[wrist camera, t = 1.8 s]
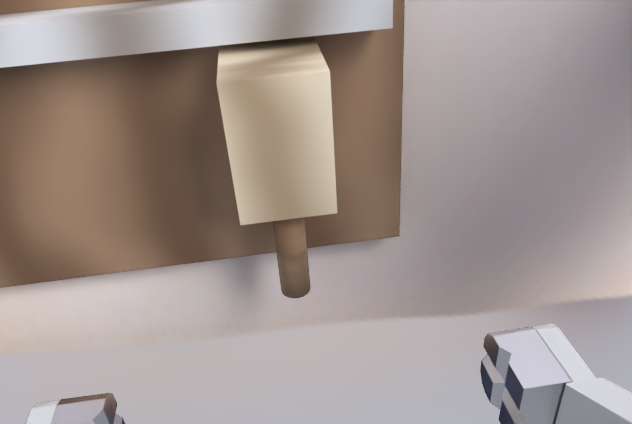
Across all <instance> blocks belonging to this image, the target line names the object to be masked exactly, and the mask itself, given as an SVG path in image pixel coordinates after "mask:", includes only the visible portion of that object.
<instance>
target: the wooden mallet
mask: <svg viewBox="0 0 632 424" xmlns="http://www.w3.org/2000/svg"><path fill="white" fill-rule="evenodd" d="M216 84H217V90H218V96H219V102H220V108H221V113H222V119H223V125H224V131H225V137H226V143H227V149H228V155H229V161H230V167H231V173H232V179H233V184H234V190H235V196H236V202H237V208H238V214H239V220H240V225H247V224H255V223H263V222H271V221H273V229H274V236H275V244H276V252H277V259H278V267H279V275H280V282H281V290H282V293H283V294H284V295H285V296H287V297H290V298H300V297H303V296H305V295H306V294H307V293H308V292H309V291H310V277H309V266H308V256H307V245H306V234H305V223H304V217H311V216H319V215H327V214H335V213H337V196H336V177H335V157H334V138H333V119H332V99H331V80H330V70H329V68H328V66H327V64H326V61H325V59H324V57H323V55H322V53H321V51H320V48H319V46H318V44H317V42H316V40H315V38H314V36H310V37H300V38H290V39H280V40H270V41H260V42H251V43H241V44H231V45H221V46H219V53H218V67H217V82H216Z"/></svg>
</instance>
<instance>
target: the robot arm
mask: <svg viewBox="0 0 632 424" xmlns="http://www.w3.org/2000/svg"><path fill="white" fill-rule="evenodd" d="M484 348H485V350H486V352H487V355H486V356H485V357H484V358H483V359H482V361H481V378H482V384H483V387H484V390H485V393H486V395H487V397H488V399H489V401H490V403H492V404H493V405H495V406H496V407H498V408H499V409H500V415H499V421H500V423H501V424H632V393H630V392H629V391H627V390H625V389H623V388H621V387H619V386H618V385H616V384H614V383H612V382H610V381H608V380H607V379H605V378H596V377H595V376H594V375H593V373H592V372H591V370H590V369H589V368H588V366H587V365H586V364H585V363H584V361H583V360H582V358H581V357H580V356H579V354H578V353H577V352H576V350H575V349H574V348H573V346H572V345H571V344H570V342H569V341H568V340H567V338H566V337H565V336H564V334H563V333H562V332H561V330H560V329H559V328H558V326H556V325H555V324H553V323H551V324H544V325H538V326H532V327H524V328H518V329H513V330H506V331H500V332H495V333H489V334H487V336H486V337H485V340H484ZM116 407H117V402H116V400H115V398H114V396H113V394H112V393H106V394H99V395H92V396H83V397H76V398H68V399H61V400H55V401H48V402H41V403H36V404H35V405H34V406H33V408H32V409H31V410H30V412H29V415H28V418H27V421H26V424H125V423H124V420H123V418H122V417H120V416H119V415H117V414H115V412H116Z"/></svg>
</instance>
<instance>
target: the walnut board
mask: <svg viewBox="0 0 632 424" xmlns="http://www.w3.org/2000/svg"><path fill="white" fill-rule="evenodd" d="M310 36H314V38H315V40H316V42H317V44H318V46H319V48H320V51H321V53H322V55H323V57H324V59H325V61H326V64H327V66H328V68H329V70H330V80H331V99H332V119H333V138H334V157H335V177H336V196H337V213H335V214H327V215H319V216H311V217H304V223H305V234H306V245H307V248H311V247H319V246H327V245H334V244H342V243H350V242H358V241H365V240H373V239H381V238H389V237H396V236H399V226H400V180H401V135H402V90H403V45H404V0H0V288H1V287H9V286H17V285H24V284H32V283H40V282H48V281H55V280H63V279H71V278H79V277H86V276H94V275H102V274H110V273H117V272H125V271H133V270H141V269H148V268H156V267H164V266H172V265H179V264H187V263H195V262H203V261H210V260H218V259H226V258H234V257H241V256H249V255H257V254H265V253H272V252H276V244H275V236H274V229H273V221H271V222H263V223H255V224H247V225H240V220H239V214H238V208H237V202H236V196H235V190H234V184H233V179H232V173H231V167H230V161H229V155H228V149H227V143H226V137H225V131H224V125H223V119H222V113H221V108H220V102H219V96H218V90H217V84H216V82H217V67H218V53H219V46H221V45H231V44H241V43H251V42H260V41H270V40H280V39H290V38H300V37H310Z"/></svg>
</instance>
